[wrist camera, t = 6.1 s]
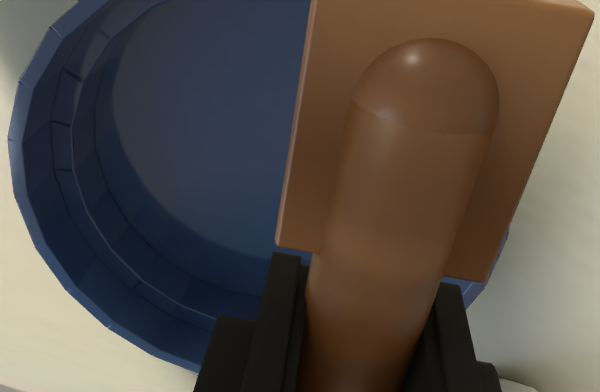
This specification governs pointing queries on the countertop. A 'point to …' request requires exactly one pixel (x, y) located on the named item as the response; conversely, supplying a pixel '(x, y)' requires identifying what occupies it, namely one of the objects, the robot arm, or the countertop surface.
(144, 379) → the countertop surface
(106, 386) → the countertop surface
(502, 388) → the can
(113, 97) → the bowl
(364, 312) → the stirring stick
